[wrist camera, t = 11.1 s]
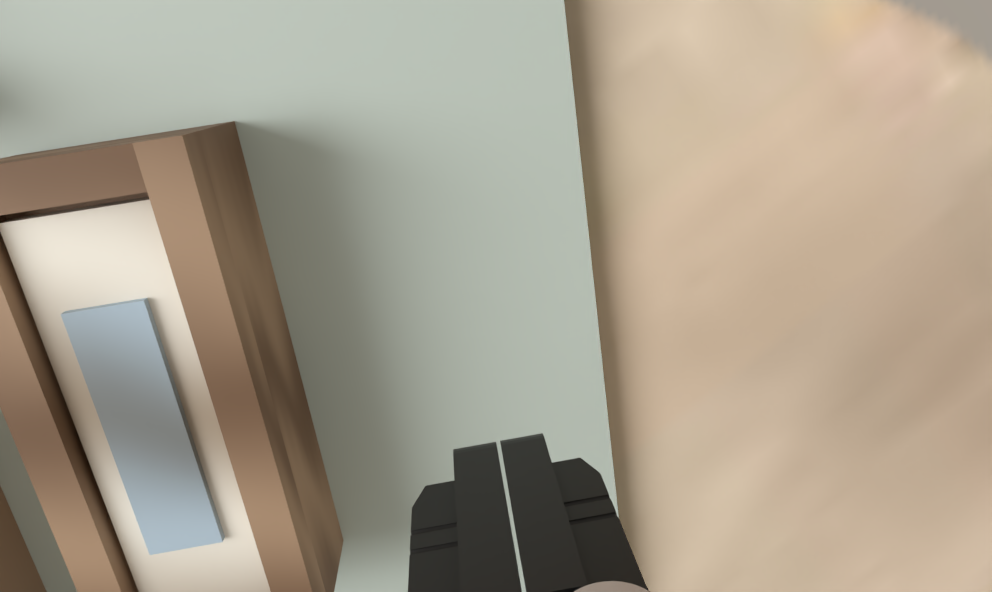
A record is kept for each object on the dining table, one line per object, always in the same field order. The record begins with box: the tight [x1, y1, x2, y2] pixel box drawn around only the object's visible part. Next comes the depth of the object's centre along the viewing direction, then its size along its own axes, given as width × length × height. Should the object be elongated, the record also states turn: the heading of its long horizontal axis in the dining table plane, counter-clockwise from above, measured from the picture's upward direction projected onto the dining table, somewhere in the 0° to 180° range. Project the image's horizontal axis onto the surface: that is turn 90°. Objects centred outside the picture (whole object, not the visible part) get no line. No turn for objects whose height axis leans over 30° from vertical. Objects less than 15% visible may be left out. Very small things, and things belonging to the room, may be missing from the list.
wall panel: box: [0, 0, 619, 592], centre depth 19 cm, size 24×20×4 cm
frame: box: [0, 121, 344, 592], centre depth 18 cm, size 13×6×4 cm, turn 8°
